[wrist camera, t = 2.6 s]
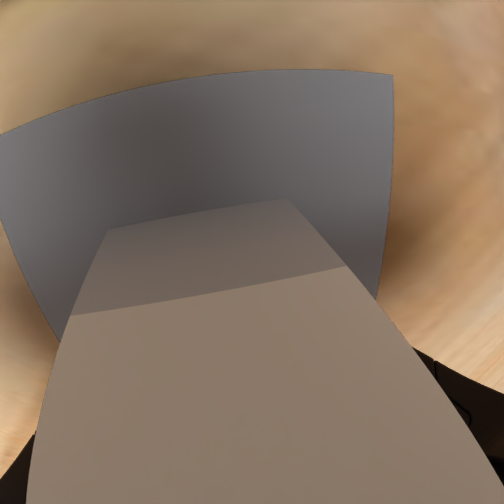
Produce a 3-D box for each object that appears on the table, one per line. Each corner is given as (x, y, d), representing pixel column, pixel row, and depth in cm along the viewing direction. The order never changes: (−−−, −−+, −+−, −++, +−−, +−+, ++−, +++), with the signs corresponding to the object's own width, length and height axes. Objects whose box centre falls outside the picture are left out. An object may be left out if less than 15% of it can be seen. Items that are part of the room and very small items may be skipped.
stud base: (374, 74, 8) (475, 82, 4) (352, 348, 14) (391, 415, 10) (-3, 138, 6) (-92, 180, 3) (110, 394, 12) (104, 470, 9)
